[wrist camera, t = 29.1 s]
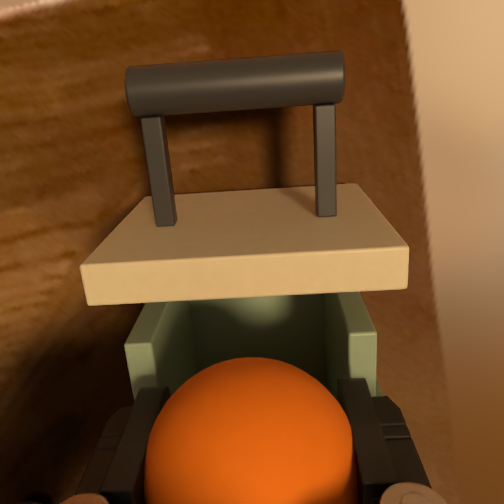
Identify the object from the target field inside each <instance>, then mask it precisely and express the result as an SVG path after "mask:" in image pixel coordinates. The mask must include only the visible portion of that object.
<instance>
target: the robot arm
mask: <svg viewBox="0 0 504 504" xmlns="http://www.w3.org/2000/svg"><path fill="white" fill-rule="evenodd" d="M170 397H171V393H170V389H169V387H168V386H155V387H141V388H140V389H139V391H138V394H137V396H136V399H135V401H134V404H133V406H131V407H121V408H120V409H119V410H118V411H117V412H116V413H115V414H114V415H112V416H111V417H110V418H109V419H108V421H107V423H106V425H105V427H104V430H103V432H102V434H101V438H100V439H99V441H98V443H97V445H96V450H95V451H94V452H93V454H92V456H91V459H90V461H89V463H88V465H87V468H86V470H85V472H84V474H83V476H82V479H81V481H80V483H79V485H78V488H77V490H76V492H75V494H74V496H72V497H70V498H68V499H66V500H64V501H63V502H61V503H60V504H145V498H144V469H145V457H146V450H147V444H148V440H149V435H150V432H151V430H152V428H153V425H154V423H155V420H156V418H157V416H158V415H159V413H160V412H161V410H162V408H163V407H164V405H165V404H166V402H167V401H168V400H169V398H170ZM337 401H338V402H339V404H340V405H341V407H342V409H343V410H344V412H345V413H346V415H347V417H348V420H349V423H350V426H351V432H352V439H353V445H354V452H355V460H356V469H357V481H358V504H447V502H446V501H445V500H444V498H443V497H442V496H441V495H440V494H439V493H437V492H436V491H434V490H433V489H432V487H431V485H430V483H429V480H428V478H427V475H426V473H425V470H424V468H423V465H422V463H421V460H420V458H419V455H418V453H417V450H416V448H415V445H414V443H413V440H412V439H411V435H410V432H409V430H408V427H406V422H405V420H404V417H403V415H402V412H401V410H400V408H399V407H398V406H397V405H396V404H395V403H394V402H393V401H392V400H391V399H390V398H388V397H387V396H376V397H371V394H370V391H369V388H368V384H367V381H366V379H365V378H343V379H337Z"/></svg>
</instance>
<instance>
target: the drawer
mask: <svg viewBox="0 0 504 504" xmlns="http://www.w3.org/2000/svg"><path fill="white" fill-rule="evenodd" d="M344 89H345V66H344V58H343V54H342V52H341V51H339V50H338V51H325V52H312V53H298V54H285V55H272V56H259V57H246V58H233V59H220V60H206V61H193V62H180V63H167V64H154V65H141V66H130V67H128V68H127V69H126V73H125V91H126V97H127V102H128V105H129V108H130V110H131V113H132V114H133V116H135V117H143V118H141V127H142V134H143V141H144V148H145V154H146V161H147V168H148V175H149V182H150V189H151V196H146V197H144V198H143V199H142V200H141V201H140V202H139V203H138V205H137V206H136V207H135V208H134V209H133V210H132V211H131V212H130V213H129V214H128V215H127V216H126V217H125V218H124V219H123V220H122V221H121V222H120V223H119V225H118V226H117V227H116V228H115V229H114V230H113V231H112V232H111V233H110V234H109V235H108V236H107V237H106V238H105V239H104V240H103V241H102V242H101V243H100V244H99V246H98V247H97V248H96V249H95V250H94V251H93V252H92V253H91V254H90V255H89V256H88V257H87V258H86V259H85V260H84V261H83V262H82V263H81V264H80V271H81V276H82V281H83V286H84V291H85V295H86V300H87V304H88V305H89V306H95V305H114V304H132V303H145V305H144V307H143V309H142V311H141V313H140V315H139V316H138V318H137V320H136V322H135V324H134V326H133V328H132V330H131V332H130V334H129V336H128V338H127V340H126V342H125V344H124V348H125V354H126V359H127V364H128V370H129V375H130V380H131V386H132V391H133V397H134V401H135V399H136V396H137V394H138V391H139V389H140V388H141V387H155V386H168V387H169V389H170V393H171V396H172V395H173V394H174V392H175V391H176V390H177V389H178V388H179V387H180V386H182V385H183V384H184V383H185V382H186V381H187V380H188V379H190V378H191V377H193V376H194V375H196V374H197V373H199V372H200V371H202V370H204V369H206V368H208V367H210V366H212V365H214V364H217V363H220V362H223V361H226V360H231V359H235V358H244V357H261V358H269V359H274V360H278V361H282V362H285V363H288V364H291V365H293V366H295V367H297V368H299V369H301V370H303V371H304V372H306V373H308V374H309V375H310V376H312V377H313V378H315V379H316V380H318V381H319V382H320V383H321V384H322V385H323V386H325V387H326V388H327V390H328V391H329V392H330V393H331V394H332V395H333V396H334V398H335V399H336V400H337V379H343V378H365V379H366V381H367V384H368V388H369V391H370V394H371V397H376V359H377V332H376V330H375V327H374V325H373V323H372V321H371V318H370V316H369V314H368V311H367V309H366V307H365V304H364V302H363V300H362V297H361V295H360V293H359V292H360V291H379V290H398V289H406V288H407V286H408V264H409V247H408V245H407V244H406V243H405V242H404V240H403V239H402V238H401V237H400V235H399V234H398V233H397V232H396V231H395V229H394V228H393V227H392V226H391V225H390V223H389V222H388V221H387V220H386V218H385V217H384V216H383V215H382V214H381V212H380V211H379V210H378V209H377V208H376V206H375V205H374V204H373V203H372V201H371V200H370V199H369V198H368V197H367V195H366V194H365V193H364V192H363V191H362V189H361V188H360V187H359V186H358V184H356V183H352V184H336V106H335V104H334V103H341V102H342V100H343V97H344ZM306 105H313V130H314V171H315V186H305V187H289V188H273V189H257V190H241V191H226V192H210V193H194V194H178V195H174V189H173V181H172V173H171V165H170V158H169V150H168V142H167V134H166V126H165V119H164V116H165V115H179V114H193V113H207V112H221V111H235V110H249V109H264V108H278V107H292V106H306Z"/></svg>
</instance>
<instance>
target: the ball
mask: <svg viewBox="0 0 504 504" xmlns="http://www.w3.org/2000/svg"><path fill="white" fill-rule="evenodd" d="M144 498H145V504H358V481H357V469H356V460H355V452H354V445H353V439H352V432H351V426H350V423H349V420H348V417H347V415H346V413H345V412H344V410H343V409H342V407H341V405H340V404H339V402H338V401H337V400H336V399H335V398H334V396H333V395H332V394H331V393H330V392H329V391H328V390H327V388H326V387H325V386H323V385H322V384H321V383H320V382H319V381H318V380H316V379H315V378H313V377H312V376H310V375H309V374H308V373H306V372H304V371H303V370H301V369H299V368H297V367H295V366H293V365H291V364H288V363H285V362H282V361H278V360H274V359H269V358H261V357H244V358H235V359H231V360H226V361H223V362H220V363H217V364H214V365H212V366H210V367H208V368H206V369H204V370H202V371H200V372H199V373H197V374H196V375H194V376H193V377H191V378H190V379H188V380H187V381H186V382H185V383H184V384H183V385H182V386H180V387H179V388H178V389H177V390H176V391H175V392H174V394H173V395H172V396H171V397H170V398H169V400H168V401H167V402H166V404H165V405H164V407H163V408H162V410H161V412H160V413H159V415H158V416H157V418H156V420H155V423H154V425H153V428H152V430H151V432H150V435H149V440H148V444H147V450H146V457H145V469H144Z"/></svg>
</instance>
